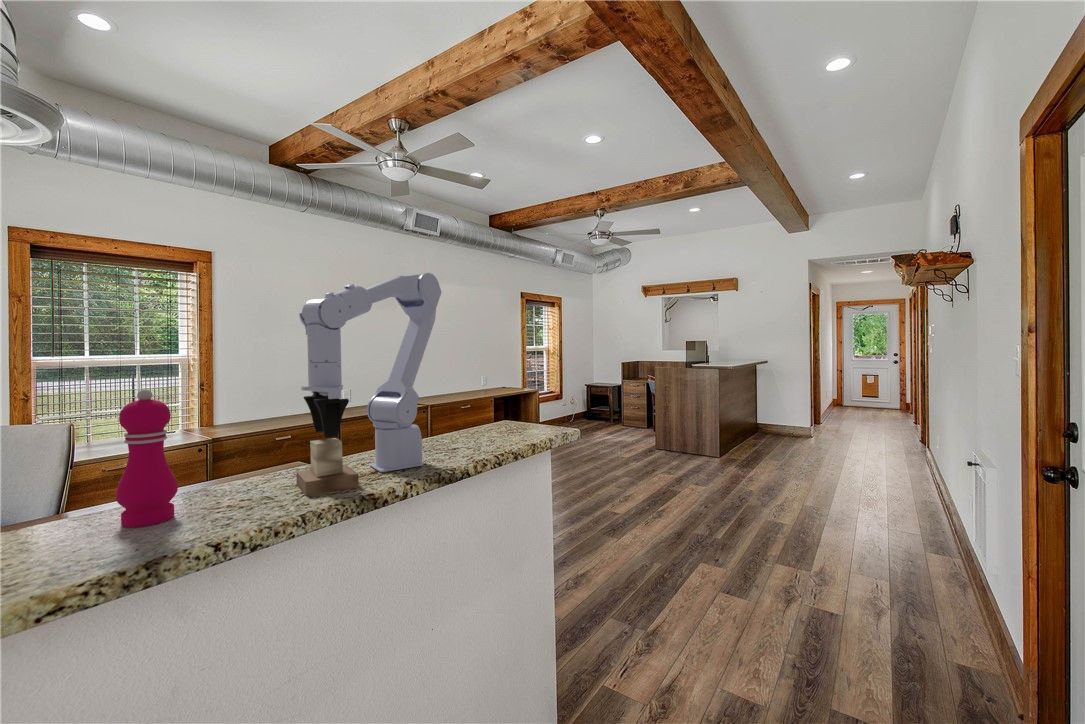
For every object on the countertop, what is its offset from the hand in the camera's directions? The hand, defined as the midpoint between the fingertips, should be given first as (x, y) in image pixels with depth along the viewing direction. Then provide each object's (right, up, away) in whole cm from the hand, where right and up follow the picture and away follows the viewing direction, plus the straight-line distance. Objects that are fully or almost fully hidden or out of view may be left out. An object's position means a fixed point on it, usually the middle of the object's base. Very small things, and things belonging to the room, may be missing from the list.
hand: (326, 434), depth 90 cm
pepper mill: (-19, -11, -17) cm, 28 cm away
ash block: (0, -7, 0) cm, 7 cm away
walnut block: (0, -10, 0) cm, 10 cm away
